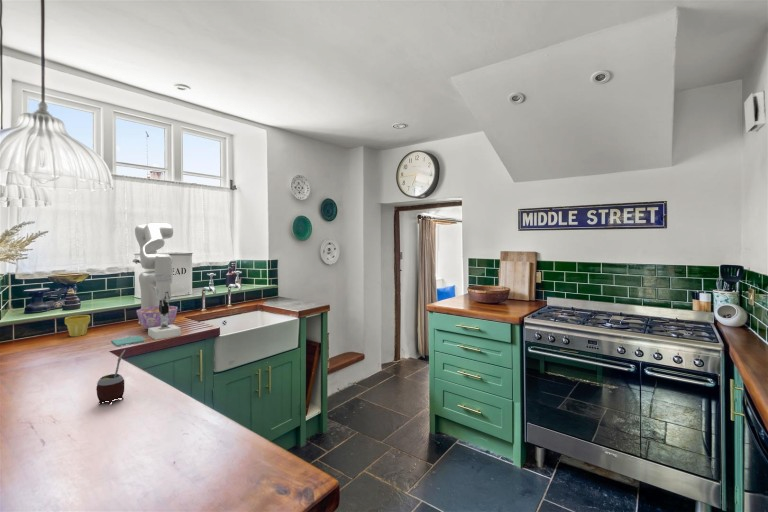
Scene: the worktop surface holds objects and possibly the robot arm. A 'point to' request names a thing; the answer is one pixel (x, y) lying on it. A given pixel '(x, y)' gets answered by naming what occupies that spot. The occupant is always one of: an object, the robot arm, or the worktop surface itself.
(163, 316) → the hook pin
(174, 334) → the eye block
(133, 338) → the mat
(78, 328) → the plant pot
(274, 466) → the worktop surface
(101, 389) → the mate gourd
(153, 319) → the bowl of food
